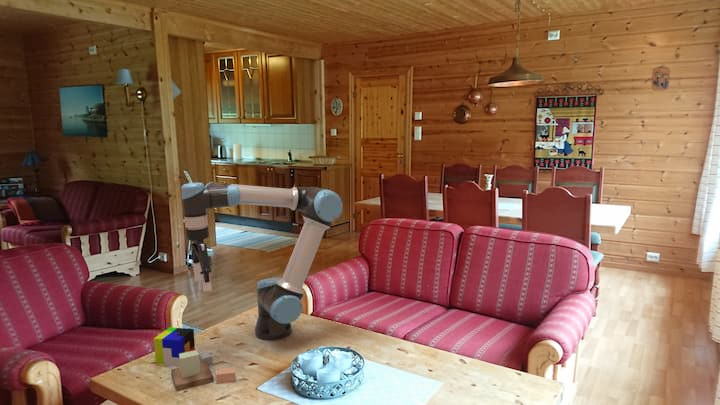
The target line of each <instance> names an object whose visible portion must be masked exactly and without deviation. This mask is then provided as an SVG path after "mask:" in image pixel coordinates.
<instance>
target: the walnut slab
mask: <svg viewBox="0 0 720 405" xmlns="http://www.w3.org/2000/svg"><path fill="white" fill-rule="evenodd" d="M170 370H171V378H172V381H173V384H174V388H175V391H176V392H179V391H182V390H188V389H192V388H194V387H198V386H202V385H206V384H210V383H214V375H213V373H212V370H211V368H210V366H209V365H208V363H207V361H206V362H202V363H200V373H201V374H197V375H193V376H189V377H185V378H182V376H181V373H180V367H176V368H173V369H170Z"/></svg>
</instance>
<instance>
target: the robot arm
mask: <svg viewBox="0 0 720 405" xmlns="http://www.w3.org/2000/svg"><path fill="white" fill-rule="evenodd" d="M180 190H181V202H182V203H181V204H182V208H183V216H184V217H183V218H184V219H182V223H184V226H185V228H186V229H185V237H186V239H187V240H188V241H190V247H191V248H190V249H191V250H190V252H191V256H190V257H191V261H192V263H193V264H192V265H193V266H192V267H193V275H194V281H195V282H199V281H201V282H202V290H203V293H205V292H210V291H212V290H213V287H212V279H211V272H212V267H211V262H210V257H209V254H208V253H209V252H208V247H207V243H206V242H205V241H204V240H205V239H208V238H209V237H210V232H209V227H208V225H209V221H208V213H207V212H208V211H207V210H211V209H220V208H221V209H222V208H232V207H234V206H238V205H250V206H262V207H263V206H264V207H274V208H275V207H278V208H289V209H290V210H291V211H297V212H302V213H303V215H302V218H303V221H304V222H303V226H302V228H301V231H300V233H299V236H298V238H297V241H296V243H295V246H294V248H293V250H292V252H291V255H290V258H289V260H288V263H287V265H286V267H285V270H284V273H283V275H282V277H268V278H264V279H260V280H259V281H257V283H256V293H257V294H256V295H257V299H256V300H257V312H258V316H257V319H256V324H255V326H254V335H255V337H256V338H258V339H259V340H264V341H275V340H279V339H284V338H286V337H288V336H289V335H291V333H292V331H293V328H292V324H291V323H292V322H295V321H296V320H297V319H298V318H299V317H300V316H301V314H302V312H303V304H302V300H303V299H302V298H303V296H304V294H305V291H304V289H303V287H304V284H305V281H306V279H307V276H308V273H309V270H310V269H311V266H312V263H313V261H314V259H315V256H316V254H317V252H318V249H319V247H320V244H321V241H322V239H323V236H324V234H325V231H326V230H329V229H330V228H331V227H332V225H333V222H334V221H336V220H338V219H339V218H340V216H341V215H342V212H343V204H344V203H343V201H342V199H341V197H340V195H339V194H337V193H336V192H334V191H332V190H330V189H328V188H327V189H325V188H321V187H318V186H310V187H309V186H308V187H303V186H301V187H300V186H293V187H292V188H283V187H272V186H271V187H270V186H260V185H249V184H248V185H247V184H236V183H224V182H218V181H210V182H208V183H207V184H206V185H204V183H203V182H189V183H184V184H183V185H182V186H181V189H180Z"/></svg>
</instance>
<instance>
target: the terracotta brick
mask: <svg viewBox="0 0 720 405" xmlns="http://www.w3.org/2000/svg"><path fill="white" fill-rule="evenodd" d="M215 374H216V375H215V376H216V377H215V378H216V385H219V384H220V385H221V384H228V383H234V382H236V377H237V376H236V375H237V374H236V367H228V368H227V367H226V368H220V369H216V372H215Z"/></svg>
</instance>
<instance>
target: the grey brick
mask: <svg viewBox="0 0 720 405" xmlns="http://www.w3.org/2000/svg"><path fill="white" fill-rule="evenodd" d="M198 353H199V360H200V363H202V362H206V361H207V363H208V365H209V367H211V366H213V365H214V363H213V362H214V360H213V355H212V354H211V352H210V351H209V350H208V349H206V350H202V351H199V352H198Z"/></svg>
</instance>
